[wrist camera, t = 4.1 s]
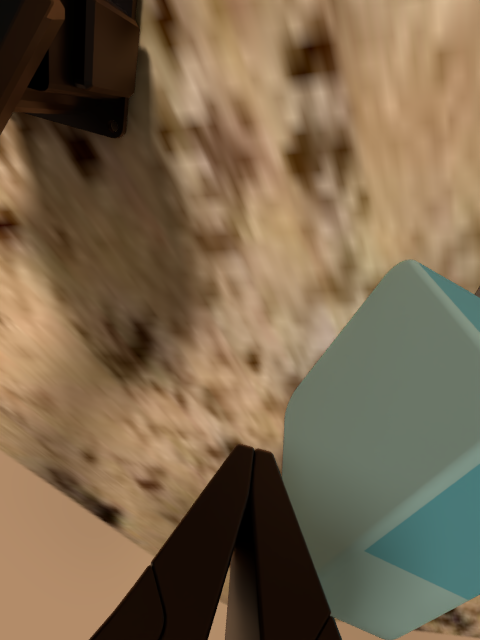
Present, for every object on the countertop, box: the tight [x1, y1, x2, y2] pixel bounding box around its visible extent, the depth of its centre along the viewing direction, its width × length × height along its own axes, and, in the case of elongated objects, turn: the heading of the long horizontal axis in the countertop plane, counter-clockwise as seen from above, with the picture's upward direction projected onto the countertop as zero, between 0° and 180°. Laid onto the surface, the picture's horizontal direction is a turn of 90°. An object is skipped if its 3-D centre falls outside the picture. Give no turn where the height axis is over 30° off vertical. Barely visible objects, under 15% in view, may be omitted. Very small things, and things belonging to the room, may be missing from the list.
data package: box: [282, 260, 480, 640], centre depth 17 cm, size 12×4×12 cm, turn 153°
